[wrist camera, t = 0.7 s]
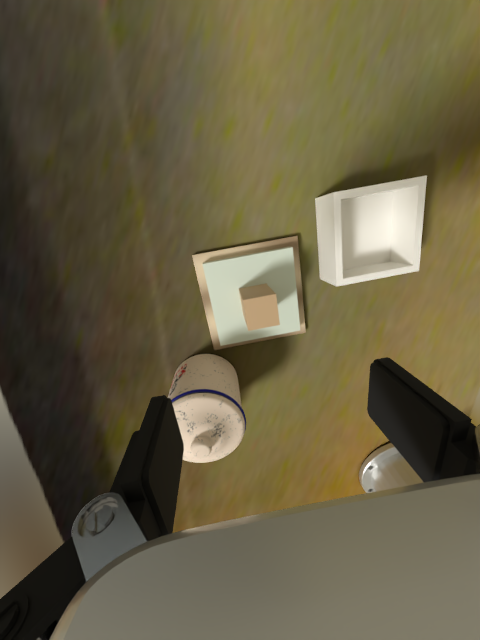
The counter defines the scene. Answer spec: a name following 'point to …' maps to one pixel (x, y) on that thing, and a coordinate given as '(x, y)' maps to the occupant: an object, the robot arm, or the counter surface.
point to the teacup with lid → (207, 407)
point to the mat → (240, 251)
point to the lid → (253, 295)
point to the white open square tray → (370, 231)
